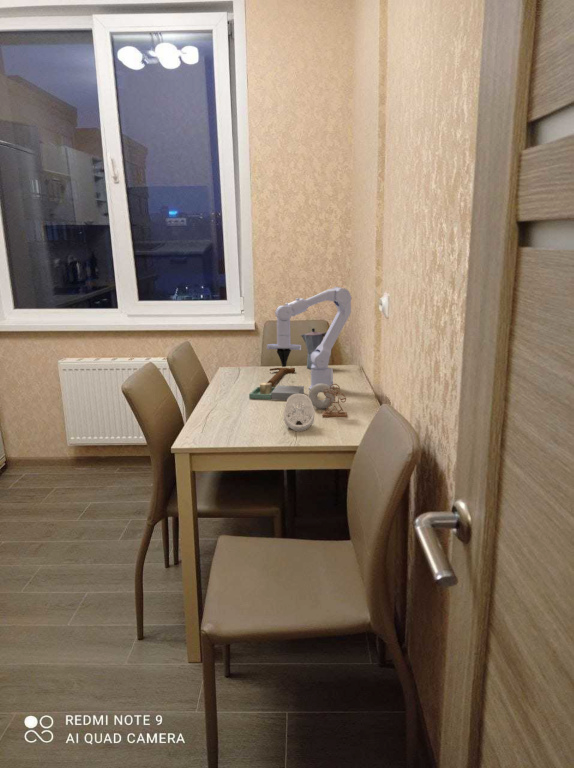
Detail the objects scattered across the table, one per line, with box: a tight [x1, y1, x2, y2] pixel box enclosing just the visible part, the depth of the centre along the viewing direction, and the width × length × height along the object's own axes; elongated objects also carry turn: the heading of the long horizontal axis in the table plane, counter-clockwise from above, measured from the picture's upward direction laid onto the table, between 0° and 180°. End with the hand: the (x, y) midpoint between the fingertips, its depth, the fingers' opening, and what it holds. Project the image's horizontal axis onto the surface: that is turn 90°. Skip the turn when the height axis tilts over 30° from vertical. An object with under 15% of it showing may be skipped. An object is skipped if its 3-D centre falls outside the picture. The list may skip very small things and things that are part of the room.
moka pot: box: [300, 328, 327, 370], centre depth 281 cm, size 10×15×20 cm, turn 82°
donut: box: [308, 383, 334, 410], centre depth 211 cm, size 10×4×10 cm, turn 78°
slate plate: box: [271, 384, 305, 401], centre depth 230 cm, size 11×12×3 cm
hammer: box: [266, 367, 296, 387], centre depth 261 cm, size 12×3×30 cm
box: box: [248, 386, 277, 401], centre depth 233 cm, size 9×12×2 cm
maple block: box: [259, 382, 272, 394], centre depth 234 cm, size 4×4×4 cm
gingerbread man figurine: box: [321, 383, 348, 418], centre depth 202 cm, size 9×4×12 cm, turn 84°
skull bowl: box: [283, 394, 316, 432], centre depth 192 cm, size 10×14×12 cm
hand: (284, 366), depth 238 cm, fingers closed
